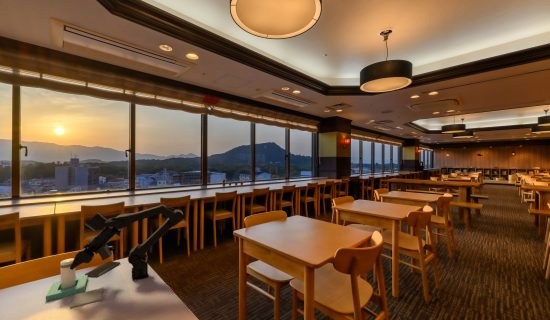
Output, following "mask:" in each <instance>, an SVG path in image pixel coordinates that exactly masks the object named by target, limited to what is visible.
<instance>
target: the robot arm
mask: <svg viewBox="0 0 550 320" xmlns="http://www.w3.org/2000/svg"><path fill="white" fill-rule="evenodd" d="M157 215H163V216H165V217H166V218H167V219H166V221H165V222H164V223H163V224H161V226H160V227H159V228H157V229H156V230H155V231H154V232H153V233H152V234H151V235H150V236H149V237H148V238H147V239H146V240H145V241H144V242H142V243H141V244H140V243H136V245H135V246H134V247H132V248H131V249H130V251H129V253H128V254H129V255H128V258H127V261H128V263H129V264H130V265H131V266H132V268H131V279H132V280H133V281H138V280H141V279H145V278H149V265H148V261H147V260H148V255H147V252H148V251H149V249H151V247H152V246H154V245H155V244H156V243H157V242H158V241H159V239H161V238H162V237H163V236H164V235H165V234H166V233H167V232H168V231H169V230H170V229H171V228H174V227H175V226H177V225H178V224H179V223H181V222H182V221H183V219H184V213H183V211H182V210H181V209H179V208H177V209H175V208H173V207H169V206H167V205H166V204H160V205H157V206H154V207H149V208H146V209H143V210H140V211H137V212H129V213H122V214H119V215H117V216H115V217H111V218H108V219H107V218H106V217H104V215H102V213H100V212H97V213H96V214H95V215H94V216H93V217H91V218H90V219H89V220H87V221H86V222H85V223H84V225H85V226H87V228H90V229H91V230H93V231H94V232H99V233H97V234H96V235H95V237H92V238H91V239H90V240H89V241H88V242H87V243H86V244H85V245H84V247H83V248H81V249H80V250H79V251H78V252H77V253H76V254H75V256H74V260H73V263H72V265H71V267H70V269H71V270H72V269H74V268H75V269H76V268H77V267H79V266H80V265H82V264H89V263H91V261H93V259H94V258H95V254H96V255H97V254H98V255H99V257H100V258H101V260H102V261H106V260H108V259H109V258H110V257H112V255H113V250H114V249H115V248H114V245H110V246H109V245H108V243H109V242H110V241H111V240H112V239H113V238H114V237H115V236H116V235H117V236H118V237H121V236H122V234H123V233H122V232H123V229H124V228H126V227H128V226H130V225H132V224H133V223H135V222H138V221H141V220H145V219H148V218H151V217H154V216H157Z"/></svg>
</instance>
